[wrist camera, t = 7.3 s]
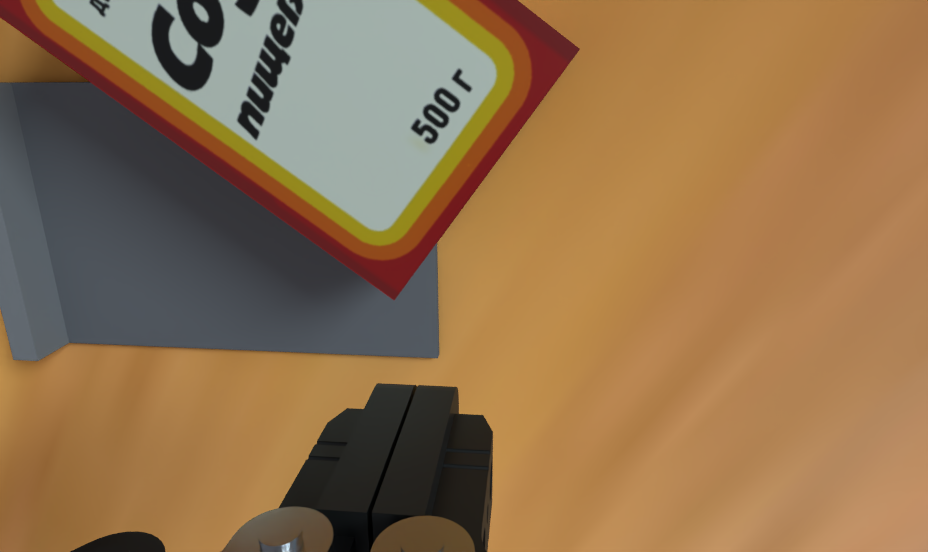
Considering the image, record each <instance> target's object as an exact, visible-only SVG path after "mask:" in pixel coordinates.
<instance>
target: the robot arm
mask: <svg viewBox="0 0 928 552" xmlns="http://www.w3.org/2000/svg"><path fill="white" fill-rule="evenodd" d="M492 459H493V431H492V430H491V428H490V426H489V425H488V423H487V421H486V419H485V418H484V416H483V415H469V414H459V399H458V388H457V387H445V386H424V385H418V387H417V386H416V385H400V384H379V383H378V384H377V385H376V386H375V388H374V390H373V392H372V394H371V396H370V398H369V400H368V402H367V404H366V406H365V408H364V409H349V408H347V409H346V410H344V411H343V412H342V413H340V414H339V415H338V416H336V417H335V418H334V419H332V420H331V421H330V422H328V423H327V425H326V427H325V428H324V430H323V432H322V433H321V435H320V437H319V439H318V440H317V444H315V446H314V447H313V449H312V451H311V453H310V454H309V459H308V460H306V461H305V463H304V465H303V467H302V468H301V470H300V472H299V474H298V475H297V477H296V479H295V481H294V482H293V484H292V486H291V487H290V489H289V491H288V493H287V494H286V496H285V498H284V500H283V501H282V503H281V505H280V507H279V508H278V509H274V510H271V511H268V512H265V513H263V514H260V515H258V516H256V517H254V518H253V519H251V520H250V521H248V522H247V523H245V524H244V525H243V526H242V527H241V528H240V529H239V530H238V531H237V532H236V533H235V534H234V536H233V537H232V538H231V540H230V541H229V543H228V544H227V545H226V547H225V548H224V549H223V551H221V552H487V549H488V539H489V528H490V518H491V508H492ZM71 552H165V547H164V545H163V543H162V542H161V541H160V540H159V539H158V538H157V537H155V536H153V535H151V534H148V533H144V532H123V533H117V534H112V535H108V536H105V537H102V538H99V539H97V540H94V541H92V542H90V543H87V544H85V545H83V546H81V547H79V548H77V549H75V550H73V551H71Z"/></svg>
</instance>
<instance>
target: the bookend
mask: <svg viewBox="0 0 928 552" xmlns="http://www.w3.org/2000/svg"><path fill="white" fill-rule="evenodd" d="M0 308H1V312H2V316H3V320H4V324H5V328H6V332H7V336H8V340H9V343H10V347H11V351H12V355H13V359H14V360H29V361H39V360H40V359H42V358H44V357H46V356H47V355H49V354H51V353H52V352H54V351H56V350H57V349H59V348H61V347H63V346H64V345H66V344H68V343H89V344H113V345H137V346H161V347H184V348H208V349H232V350H256V351H280V352H303V353H327V354H351V355H375V356H398V357H422V358H438V356H439V319H438V268H437V243H436V245H435V246H434V247H433V249H432V250H431V251H430V253H429V254H428V256H427V257H426V258H425V260H424V261H423V262H422V264H421V265H420V266H419V268H418V269H417V270H416V272H415V273H414V275H413V276H412V277H411V279H410V280H409V281H408V283H407V284H406V285H405V287H404V288H403V289H402V291H401V292H400V294H399V295H398V296H397V298H396V299H395V300H393V299H391V298H390V297H388V296H387V295H386V294H384V293H383V292H382V291H380V290H379V289H377V288H376V287H375V286H373V285H372V284H370V283H369V282H368V281H366V280H365V279H363V278H362V277H361V276H359V275H358V274H357V273H355V272H354V271H352V270H351V269H350V268H348V267H347V266H345V265H344V264H343V263H341V262H340V261H338V260H337V259H336V258H334V257H333V256H331V255H330V254H329V253H327V252H326V251H325V250H323V249H322V248H320V247H319V246H318V245H316V244H315V243H313V242H312V241H311V240H309V239H308V238H306V237H305V236H304V235H302V234H301V233H299V232H298V231H297V230H295V229H294V228H293V227H291V226H290V225H288V224H287V223H286V222H284V221H283V220H281V219H280V218H279V217H277V216H276V215H274V214H273V213H272V212H270V211H269V210H268V209H266V208H265V207H263V206H262V205H261V204H259V203H258V202H256V201H255V200H254V199H252V198H251V197H249V196H248V195H247V194H245V193H244V192H242V191H241V190H240V189H238V188H237V187H236V186H234V185H233V184H231V183H230V182H229V181H227V180H226V179H224V178H223V177H222V176H220V175H219V174H217V173H216V172H215V171H213V170H212V169H210V168H209V167H208V166H206V165H205V164H204V163H202V162H201V161H199V160H198V159H197V158H195V157H194V156H192V155H191V154H190V153H188V152H187V151H185V150H184V149H183V148H181V147H180V146H179V145H177V144H176V143H174V142H173V141H172V140H170V139H169V138H167V137H166V136H165V135H163V134H162V133H160V132H159V131H158V130H156V129H155V128H153V127H152V126H151V125H149V124H148V123H147V122H145V121H144V120H142V119H141V118H140V117H138V116H137V115H135V114H134V113H133V112H131V111H130V110H128V109H127V108H126V107H124V106H123V105H121V104H120V103H119V102H117V101H116V100H115V99H113V98H112V97H110V96H109V95H108V94H106V93H105V92H103V91H102V90H101V89H99V88H98V87H96V86H95V85H94V84H92V83H91V82H34V83H0Z"/></svg>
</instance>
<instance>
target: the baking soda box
mask: <svg viewBox="0 0 928 552" xmlns="http://www.w3.org/2000/svg"><path fill="white" fill-rule="evenodd" d="M0 18H2V19H3V20H5V21H6V22H7V23H9V24H10V25H12V26H13V27H14V28H16V29H17V30H19V31H20V32H21V33H23V34H24V35H26V36H27V37H28V38H30V39H31V40H32V41H34V42H35V43H37V44H38V45H39V46H41V47H42V48H44V49H45V50H46V51H48V52H49V53H51V54H52V55H53V56H55V57H56V58H58V59H59V60H60V61H62V62H63V63H64V64H66V65H67V66H69V67H70V68H71V69H73V70H74V71H76V72H77V73H78V74H80V75H81V76H83V77H84V78H85V79H87V80H88V81H89V82H91V83H92V84H94V85H95V86H96V87H98V88H99V89H101V90H102V91H103V92H105V93H106V94H108V95H109V96H110V97H112V98H113V99H115V100H116V101H117V102H119V103H120V104H121V105H123V106H124V107H126V108H127V109H128V110H130V111H131V112H133V113H134V114H135V115H137V116H138V117H140V118H141V119H142V120H144V121H145V122H147V123H148V124H149V125H151V126H152V127H153V128H155V129H156V130H158V131H159V132H160V133H162V134H163V135H165V136H166V137H167V138H169V139H170V140H172V141H173V142H174V143H176V144H177V145H179V146H180V147H181V148H183V149H184V150H185V151H187V152H188V153H190V154H191V155H192V156H194V157H195V158H197V159H198V160H199V161H201V162H202V163H204V164H205V165H206V166H208V167H209V168H210V169H212V170H213V171H215V172H216V173H217V174H219V175H220V176H222V177H223V178H224V179H226V180H227V181H229V182H230V183H231V184H233V185H234V186H236V187H237V188H238V189H240V190H241V191H242V192H244V193H245V194H247V195H248V196H249V197H251V198H252V199H254V200H255V201H256V202H258V203H259V204H261V205H262V206H263V207H265V208H266V209H268V210H269V211H270V212H272V213H273V214H274V215H276V216H277V217H279V218H280V219H281V220H283V221H284V222H286V223H287V224H288V225H290V226H291V227H293V228H294V229H295V230H297V231H298V232H299V233H301V234H302V235H304V236H305V237H306V238H308V239H309V240H311V241H312V242H313V243H315V244H316V245H318V246H319V247H320V248H322V249H323V250H325V251H326V252H327V253H329V254H330V255H331V256H333V257H334V258H336V259H337V260H338V261H340V262H341V263H343V264H344V265H345V266H347V267H348V268H350V269H351V270H352V271H354V272H355V273H357V274H358V275H359V276H361V277H362V278H363V279H365V280H366V281H368V282H369V283H370V284H372V285H373V286H375V287H376V288H377V289H379V290H380V291H382V292H383V293H384V294H386V295H387V296H388V297H390V298H391V299H393V300H395V299H396V298H397V296H398V295H399V294H400V292H401V291H402V289H403V288H404V287H405V285H406V284H407V283H408V281H409V280H410V279H411V277H412V276H413V275H414V273H415V272H416V270H417V269H418V268H419V266H420V265H421V264H422V262H423V261H424V260H425V258H426V257H427V256H428V254H429V253H430V251H431V250H432V249H433V247H434V246H435V245H436V243H437V242H438V241H439V239H440V238H441V237H442V235H443V234H444V233H445V231H446V230H447V228H448V227H449V226H450V224H451V223H452V222H453V220H454V219H455V218H456V216H457V215H458V214H459V212H460V211H461V209H462V208H463V207H464V205H465V204H466V203H467V201H468V200H469V199H470V197H471V196H472V195H473V193H474V192H475V190H476V189H477V188H478V186H479V185H480V184H481V182H482V181H483V180H484V178H485V177H486V176H487V174H488V173H489V172H490V170H491V169H492V167H493V166H494V165H495V163H496V162H497V161H498V159H499V158H500V157H501V155H502V154H503V153H504V151H505V150H506V148H507V147H508V146H509V144H510V143H511V142H512V140H513V139H514V138H515V136H516V135H517V134H518V132H519V131H520V129H521V128H522V127H523V125H524V124H525V123H526V121H527V120H528V119H529V117H530V116H531V115H532V113H533V112H534V111H535V109H536V108H537V106H538V105H539V104H540V102H541V101H542V100H543V98H544V97H545V96H546V94H547V93H548V92H549V90H550V89H551V87H552V86H553V85H554V83H555V82H556V81H557V79H558V78H559V77H560V75H561V74H562V73H563V71H564V70H565V68H566V67H567V66H568V64H569V63H570V62H571V60H572V59H573V58H574V56H575V55H576V54H577V52H578V51H579V50H580V49H579V48H578V47H576V46H575V45H574V44H573V43H571V42H570V41H569V40H568V39H566V38H565V37H564V36H562V35H561V34H560V33H559V32H557V31H556V30H555V29H553V28H552V27H551V26H550V25H548V24H547V23H546V22H545V21H543V20H542V19H541V18H539V17H538V16H537V15H536V14H534V13H533V12H532V11H530V10H529V9H528V8H527V7H525V6H524V5H523V4H521V3H520V2H519V1H518V0H0Z"/></svg>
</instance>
